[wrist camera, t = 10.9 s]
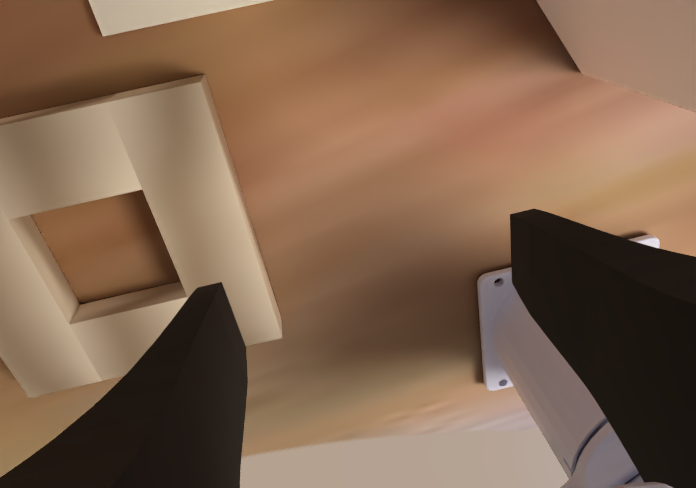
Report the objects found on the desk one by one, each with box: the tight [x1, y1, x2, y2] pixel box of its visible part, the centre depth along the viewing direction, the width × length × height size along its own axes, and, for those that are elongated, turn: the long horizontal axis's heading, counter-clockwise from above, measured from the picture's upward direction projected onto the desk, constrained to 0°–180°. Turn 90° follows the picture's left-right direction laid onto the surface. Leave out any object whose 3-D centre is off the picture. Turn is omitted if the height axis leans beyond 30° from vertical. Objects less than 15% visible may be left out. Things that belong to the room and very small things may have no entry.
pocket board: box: [0, 74, 282, 398], centre depth 22 cm, size 12×12×2 cm
